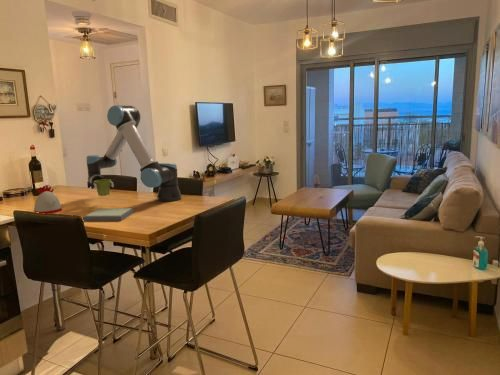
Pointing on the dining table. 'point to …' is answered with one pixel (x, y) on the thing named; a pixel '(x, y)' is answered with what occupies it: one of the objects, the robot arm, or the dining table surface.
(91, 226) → the dining table surface
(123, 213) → the stand
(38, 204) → the grey dome
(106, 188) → the plant pot
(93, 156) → the robot arm
